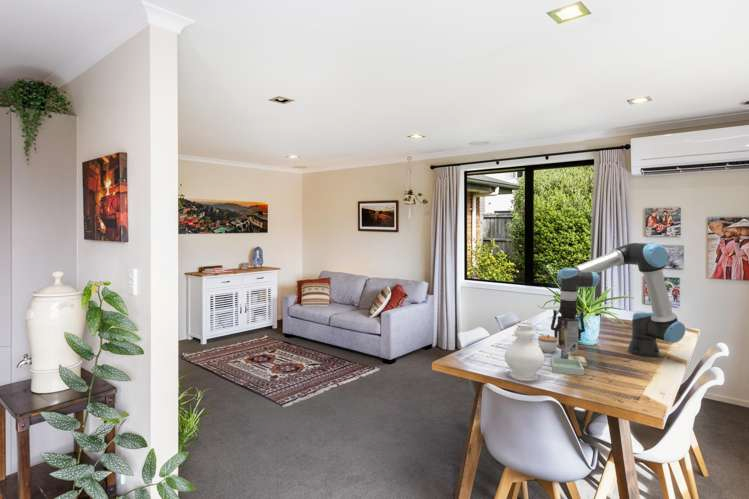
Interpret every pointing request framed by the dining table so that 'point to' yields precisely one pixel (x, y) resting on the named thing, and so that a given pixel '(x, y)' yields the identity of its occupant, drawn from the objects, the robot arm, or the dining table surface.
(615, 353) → the dining table surface
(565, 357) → the bench dogs
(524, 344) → the decorative vase
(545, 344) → the lidded jar
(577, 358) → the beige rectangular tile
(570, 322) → the coffee box
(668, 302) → the robot arm
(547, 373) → the dining table surface
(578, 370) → the tray
